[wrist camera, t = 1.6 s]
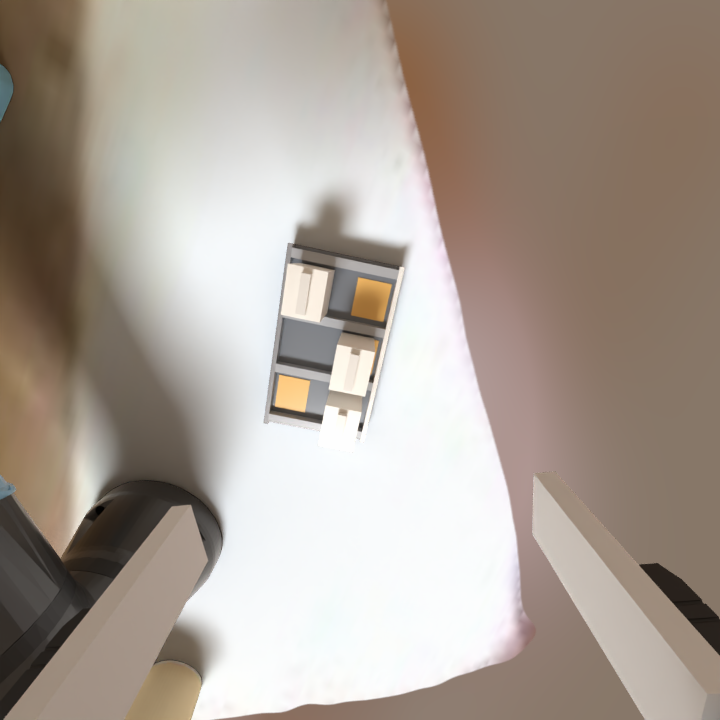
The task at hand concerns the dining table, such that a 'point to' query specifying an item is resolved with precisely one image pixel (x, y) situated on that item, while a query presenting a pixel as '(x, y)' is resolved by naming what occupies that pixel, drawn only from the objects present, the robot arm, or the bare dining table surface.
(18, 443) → the dining table surface
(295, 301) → the tab
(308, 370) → the switch bank
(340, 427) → the tab
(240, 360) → the dining table surface
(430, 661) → the dining table surface
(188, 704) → the coffee cup
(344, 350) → the tab
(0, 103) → the vase
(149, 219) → the dining table surface
